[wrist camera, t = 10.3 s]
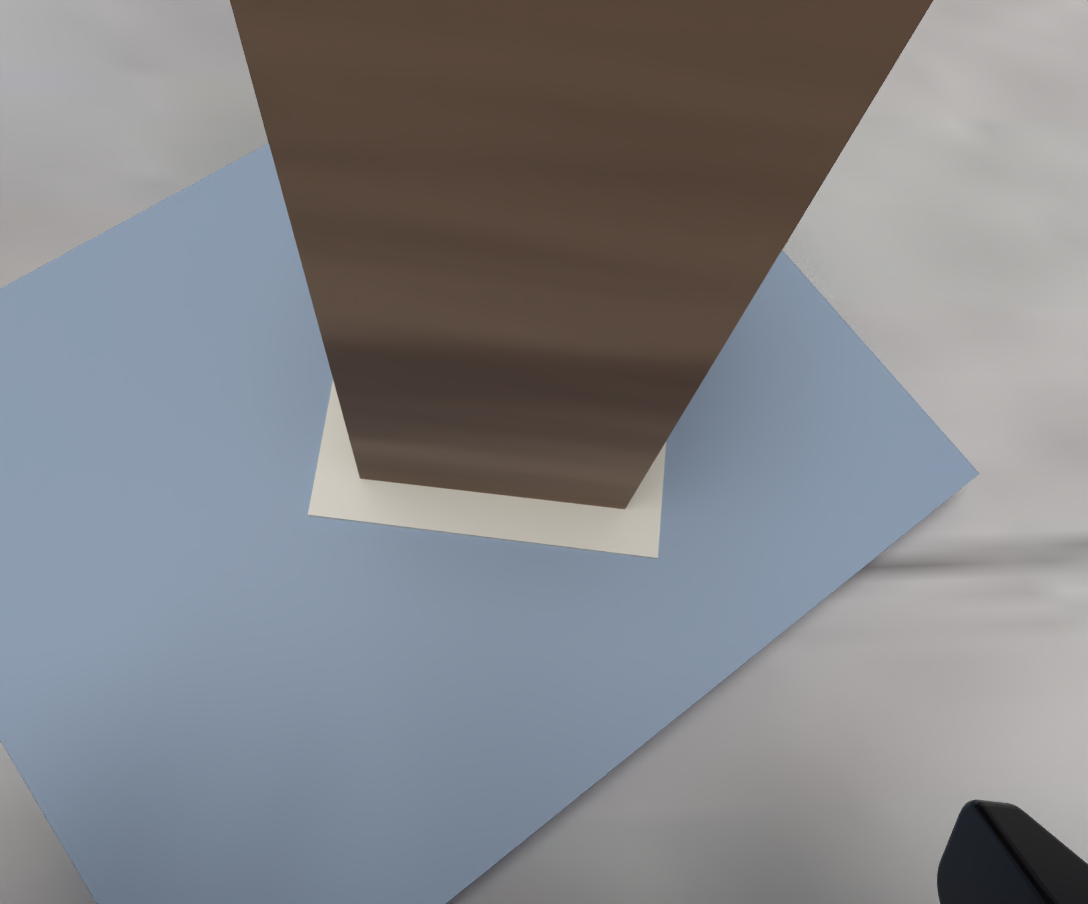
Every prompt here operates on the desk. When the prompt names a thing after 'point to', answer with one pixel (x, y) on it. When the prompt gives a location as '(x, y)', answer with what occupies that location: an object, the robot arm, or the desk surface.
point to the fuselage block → (547, 210)
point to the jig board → (375, 572)
